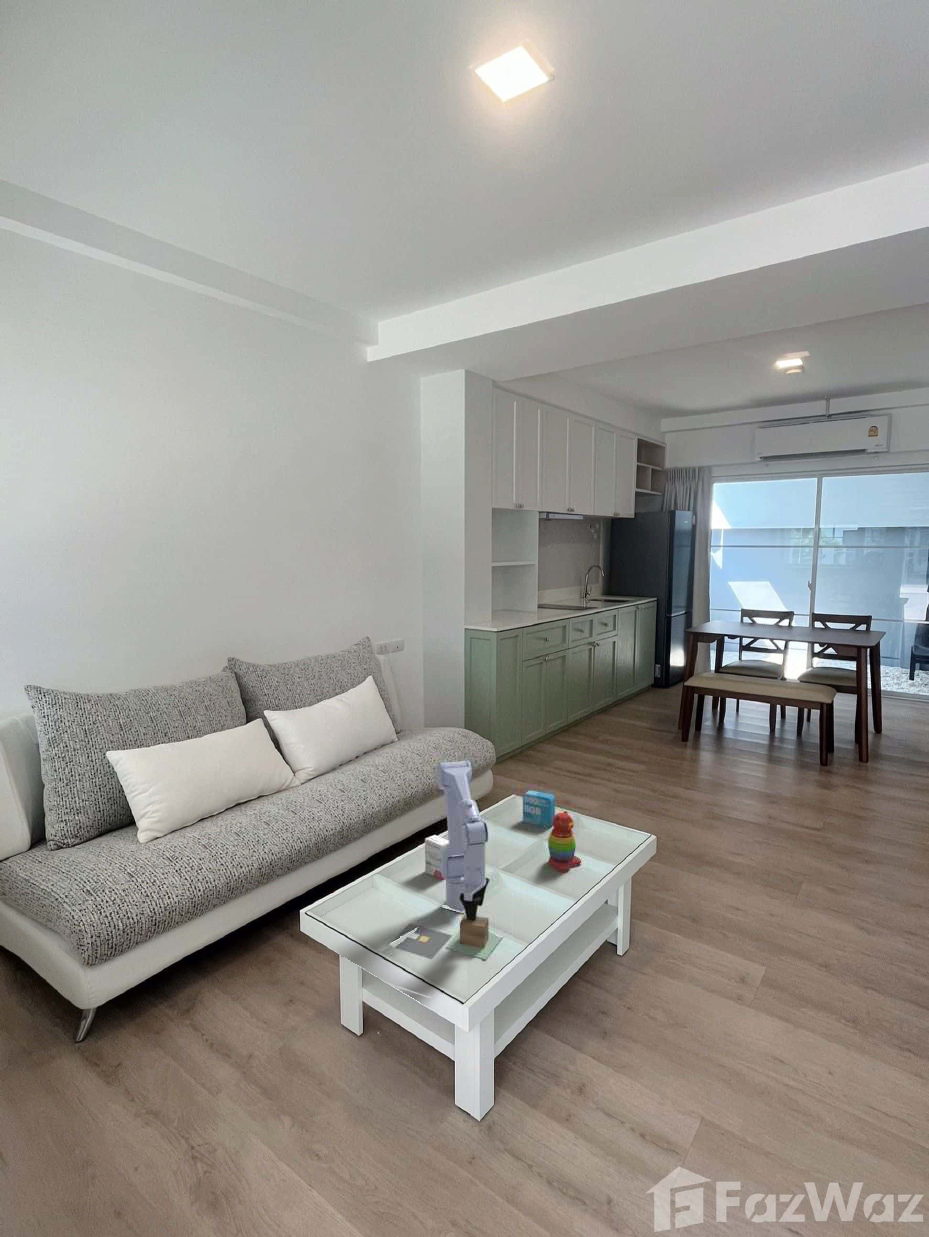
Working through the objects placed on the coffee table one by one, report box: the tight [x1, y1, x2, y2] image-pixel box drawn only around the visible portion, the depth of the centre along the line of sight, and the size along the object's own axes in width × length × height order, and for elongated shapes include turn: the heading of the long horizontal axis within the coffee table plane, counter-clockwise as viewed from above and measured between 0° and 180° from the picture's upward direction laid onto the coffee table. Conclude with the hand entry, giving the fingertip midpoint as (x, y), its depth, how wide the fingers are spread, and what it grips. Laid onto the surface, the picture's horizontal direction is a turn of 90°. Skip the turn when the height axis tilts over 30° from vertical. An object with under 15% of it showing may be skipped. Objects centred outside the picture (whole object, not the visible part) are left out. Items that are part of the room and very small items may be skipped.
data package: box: [522, 789, 556, 828], centre depth 261 cm, size 12×4×12 cm, turn 60°
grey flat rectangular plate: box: [389, 922, 453, 960], centre depth 184 cm, size 12×14×1 cm
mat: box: [445, 931, 503, 961], centre depth 183 cm, size 12×12×1 cm
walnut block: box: [459, 913, 490, 948], centre depth 183 cm, size 4×7×6 cm, turn 75°
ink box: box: [424, 834, 452, 881], centre depth 221 cm, size 8×5×12 cm, turn 47°
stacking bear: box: [547, 811, 582, 873], centre depth 228 cm, size 11×10×18 cm
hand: (474, 912), depth 182 cm, fingers open, 7 cm apart
